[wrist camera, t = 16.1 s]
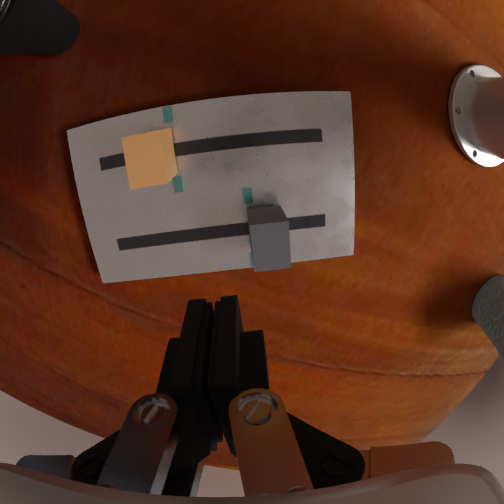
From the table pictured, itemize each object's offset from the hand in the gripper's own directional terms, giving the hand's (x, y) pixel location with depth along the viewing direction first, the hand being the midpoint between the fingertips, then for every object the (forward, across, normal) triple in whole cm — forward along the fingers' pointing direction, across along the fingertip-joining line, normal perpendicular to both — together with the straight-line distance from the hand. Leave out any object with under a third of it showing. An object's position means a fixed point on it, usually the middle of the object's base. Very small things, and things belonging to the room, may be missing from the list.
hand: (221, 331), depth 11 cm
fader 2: (+18, -3, +3) cm, 19 cm away
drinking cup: (+20, +15, -20) cm, 32 cm away
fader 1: (+18, +6, -5) cm, 20 cm away
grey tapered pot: (+22, -37, +20) cm, 47 cm away
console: (+20, +2, -1) cm, 21 cm away
